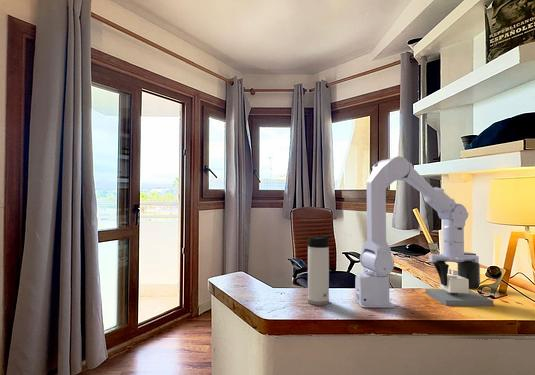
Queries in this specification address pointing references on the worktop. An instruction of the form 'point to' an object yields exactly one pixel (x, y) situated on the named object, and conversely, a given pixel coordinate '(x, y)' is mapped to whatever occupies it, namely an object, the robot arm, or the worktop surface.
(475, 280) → the supplement bottle
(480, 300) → the shaft board
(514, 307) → the worktop surface
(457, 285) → the collar
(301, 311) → the worktop surface
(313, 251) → the travel mug
